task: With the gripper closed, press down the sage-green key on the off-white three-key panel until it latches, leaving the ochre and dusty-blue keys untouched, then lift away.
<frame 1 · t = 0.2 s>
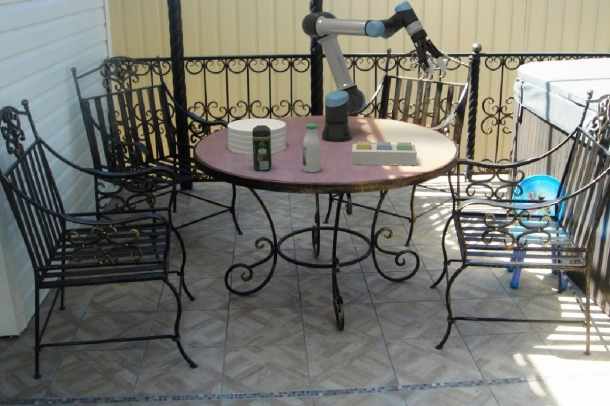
hand: (438, 71, 311), 36 cm above the table, tool tilted 35°, fingers open, 13 cm apart
milk bottle: (311, 170, 284), on the table
key ochre: (363, 147, 296), point 6 cm above the table, slide at 0.0 cm
coffee jar: (262, 168, 287), on the table
key panel: (383, 161, 297), on the table
key sage: (404, 148, 294), point 6 cm above the table, slide at 0.0 cm
key blue: (384, 148, 295), point 6 cm above the table, slide at 0.0 cm
plate stack: (257, 148, 322), on the table
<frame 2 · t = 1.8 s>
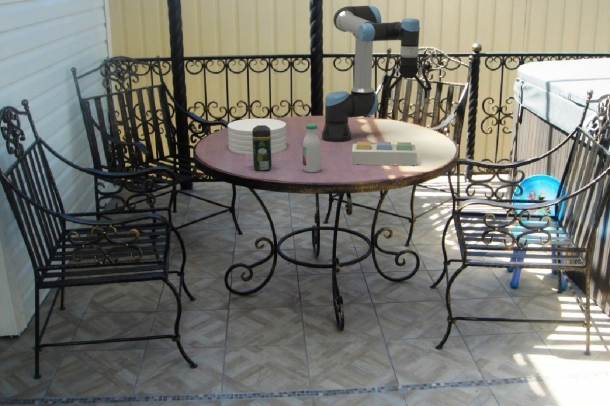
hand: (407, 106, 289), 25 cm above the table, tool pointing down, fingers open, 13 cm apart
nothing on the table moved.
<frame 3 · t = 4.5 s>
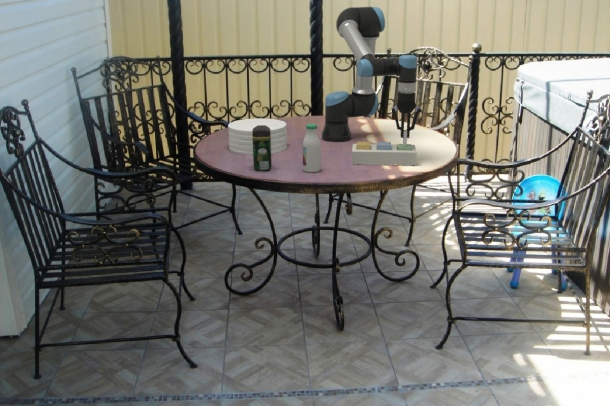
hand: (404, 145, 294), 8 cm above the table, tool pointing down, fingers closed
key sage: (404, 149, 295), point 5 cm above the table, slide at 0.7 cm, touching gripper
everything else where it was.
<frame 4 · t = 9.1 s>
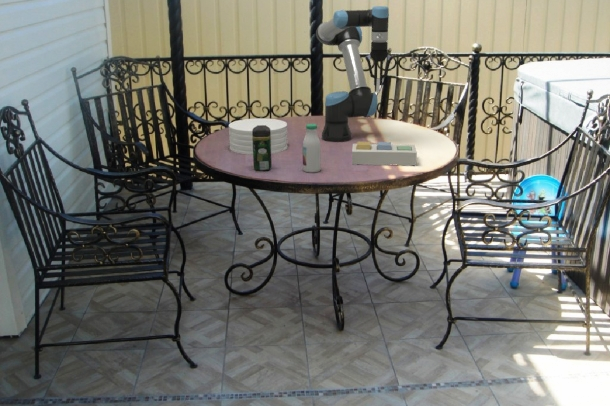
hand: (377, 92, 313), 26 cm above the table, tool pointing down, fingers closed
key sage: (404, 152, 295), point 4 cm above the table, slide at 1.7 cm
everything else where it was.
at the end: key sage slide at 1.7 cm; key ochre slide at 0.0 cm; key blue slide at 0.0 cm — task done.
